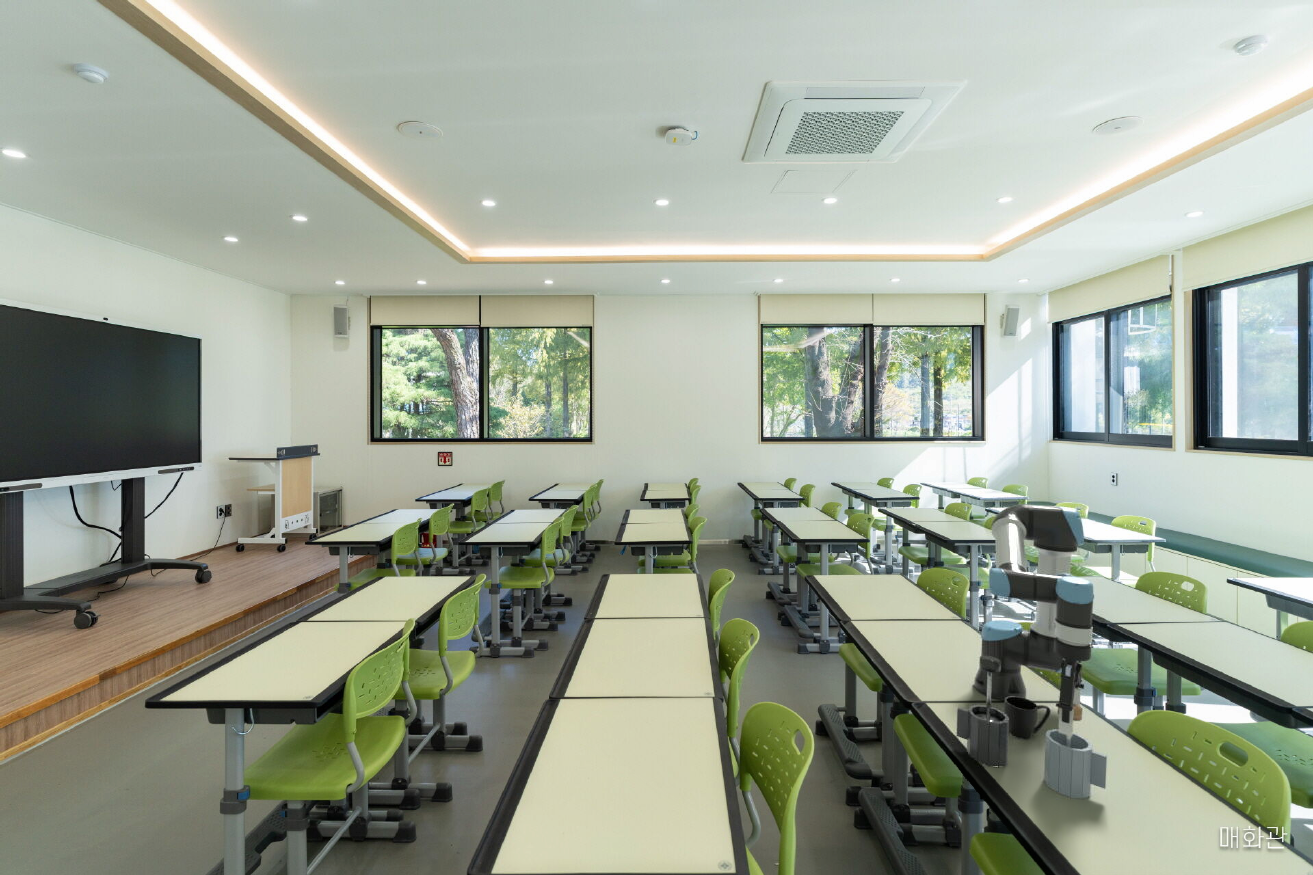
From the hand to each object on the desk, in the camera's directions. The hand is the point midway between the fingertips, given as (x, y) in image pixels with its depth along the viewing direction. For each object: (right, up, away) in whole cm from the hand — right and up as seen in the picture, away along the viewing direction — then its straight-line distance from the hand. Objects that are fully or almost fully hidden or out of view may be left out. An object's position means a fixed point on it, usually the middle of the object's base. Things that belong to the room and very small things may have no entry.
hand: (1069, 722), depth 144 cm
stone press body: (+1, -16, 0) cm, 16 cm away
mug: (+5, -16, +24) cm, 29 cm away
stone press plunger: (0, -13, +1) cm, 13 cm away
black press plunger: (-13, -6, +12) cm, 19 cm away
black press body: (-14, -16, +14) cm, 25 cm away
